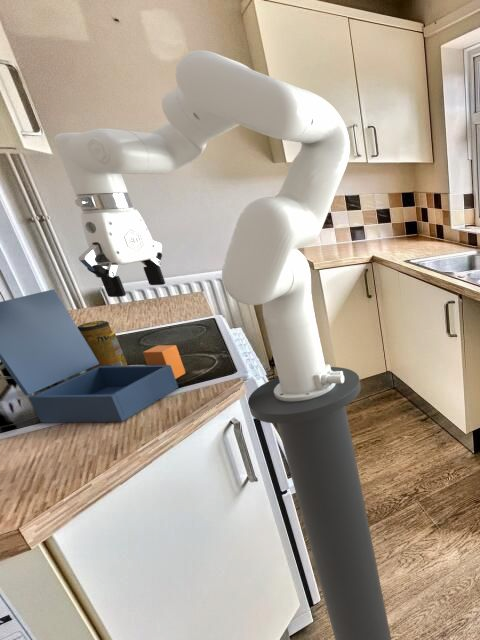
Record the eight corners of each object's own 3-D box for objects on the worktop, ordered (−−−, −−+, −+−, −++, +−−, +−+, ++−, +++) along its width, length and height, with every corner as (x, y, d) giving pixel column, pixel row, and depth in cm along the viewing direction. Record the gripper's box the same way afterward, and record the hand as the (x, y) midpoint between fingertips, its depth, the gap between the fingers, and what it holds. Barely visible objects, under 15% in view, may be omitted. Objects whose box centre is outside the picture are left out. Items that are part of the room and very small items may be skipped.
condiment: (112, 366, 102) (93, 319, 98) (145, 365, 102) (127, 318, 97) (82, 379, 95) (60, 329, 91) (118, 379, 95) (97, 329, 90)
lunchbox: (178, 387, 90) (170, 364, 88) (122, 421, 77) (111, 396, 75) (108, 388, 91) (98, 366, 89) (40, 422, 78) (28, 397, 76)
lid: (54, 289, 83) (33, 293, 83) (-31, 309, 70) (-55, 314, 70) (99, 363, 88) (80, 367, 89) (28, 394, 76) (6, 399, 76)
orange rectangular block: (185, 373, 97) (176, 345, 94) (172, 381, 93) (161, 351, 91) (167, 373, 97) (157, 345, 94) (153, 381, 93) (142, 352, 91)
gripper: (80, 206, 73) (118, 301, 79) (161, 200, 89) (187, 280, 95) (39, 207, 73) (80, 302, 80) (127, 202, 90) (155, 281, 96)
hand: (138, 290), depth 87 cm, fingers open, 9 cm apart
